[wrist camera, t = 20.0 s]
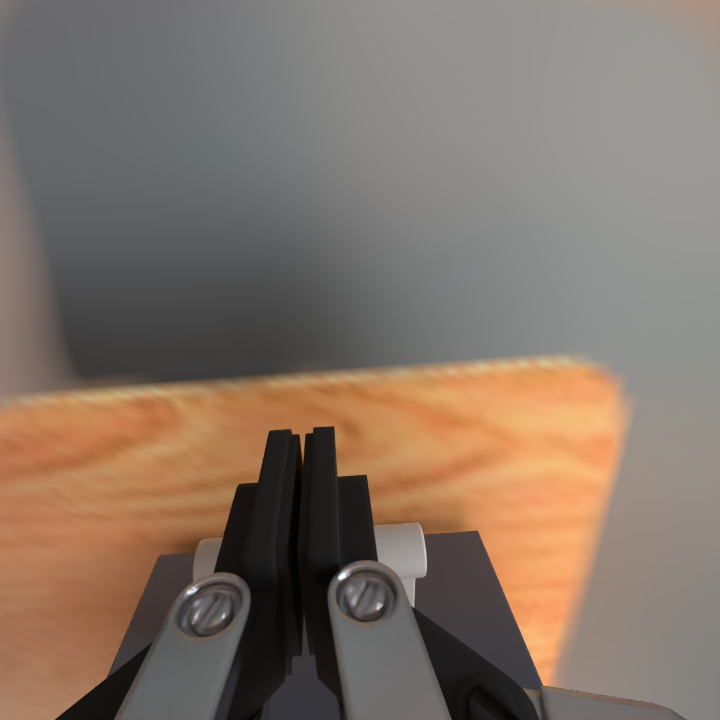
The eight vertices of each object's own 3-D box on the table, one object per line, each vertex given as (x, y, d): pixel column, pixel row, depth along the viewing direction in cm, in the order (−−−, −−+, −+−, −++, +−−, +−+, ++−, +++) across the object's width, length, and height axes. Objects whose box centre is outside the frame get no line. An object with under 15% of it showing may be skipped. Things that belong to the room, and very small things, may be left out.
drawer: (130, 463, 14) (-16, 685, 8) (489, 439, 15) (603, 628, 9) (219, 754, 22) (178, 981, 16) (453, 730, 23) (501, 938, 17)
